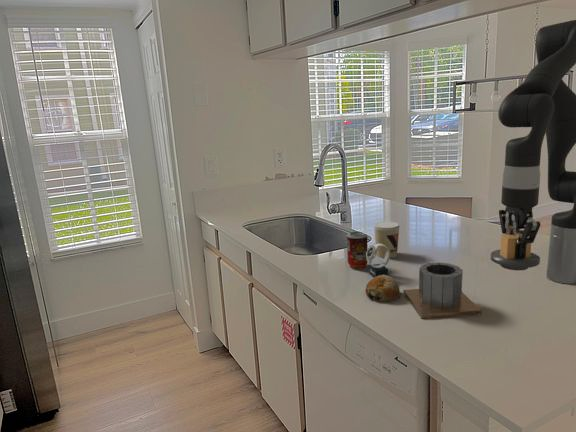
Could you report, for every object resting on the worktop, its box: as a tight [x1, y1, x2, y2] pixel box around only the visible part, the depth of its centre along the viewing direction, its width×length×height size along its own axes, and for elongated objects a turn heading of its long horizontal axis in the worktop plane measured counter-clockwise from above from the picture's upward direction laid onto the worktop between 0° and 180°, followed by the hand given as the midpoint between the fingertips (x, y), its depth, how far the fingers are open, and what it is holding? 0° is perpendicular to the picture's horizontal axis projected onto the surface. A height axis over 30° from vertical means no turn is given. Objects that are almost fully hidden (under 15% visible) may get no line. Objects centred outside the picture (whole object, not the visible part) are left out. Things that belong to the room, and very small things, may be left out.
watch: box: [366, 243, 391, 279], centre depth 141 cm, size 6×8×11 cm
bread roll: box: [364, 275, 401, 302], centre depth 127 cm, size 10×10×8 cm
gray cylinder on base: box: [402, 262, 482, 320], centre depth 119 cm, size 16×16×10 cm
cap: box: [490, 234, 541, 271], centre depth 101 cm, size 10×10×8 cm
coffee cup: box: [373, 221, 400, 259], centre depth 161 cm, size 9×9×12 cm
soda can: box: [346, 231, 368, 270], centre depth 151 cm, size 7×7×12 cm
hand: (515, 255), depth 102 cm, fingers closed on cap, 3 cm apart
